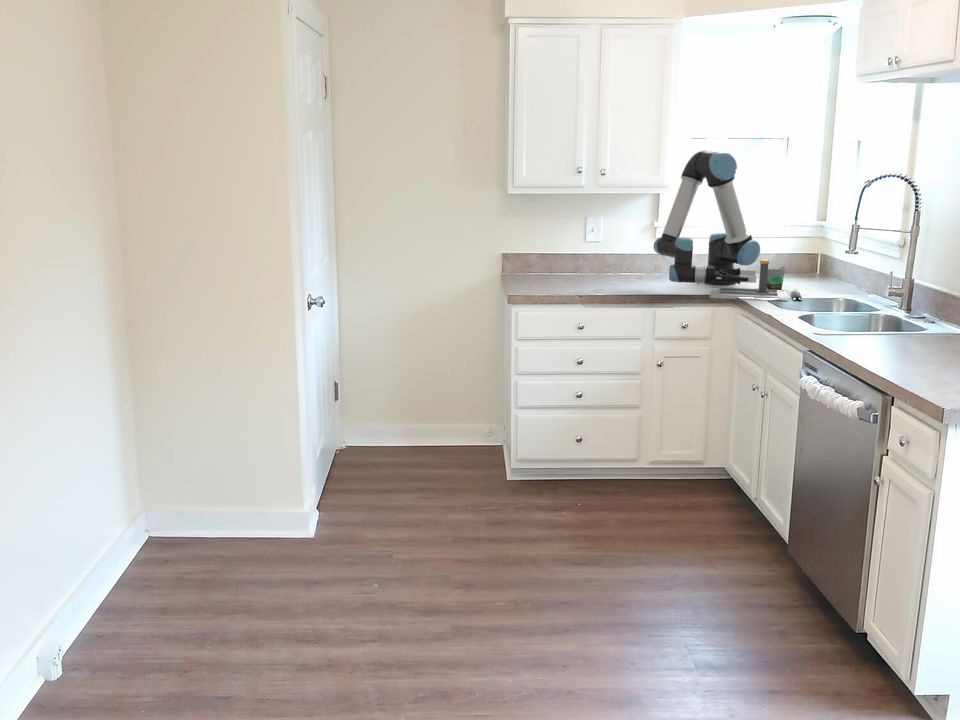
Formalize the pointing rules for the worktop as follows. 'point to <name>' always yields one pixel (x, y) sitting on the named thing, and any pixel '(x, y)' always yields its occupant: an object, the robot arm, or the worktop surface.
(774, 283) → the food container
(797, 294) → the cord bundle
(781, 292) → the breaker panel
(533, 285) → the worktop surface
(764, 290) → the lever
